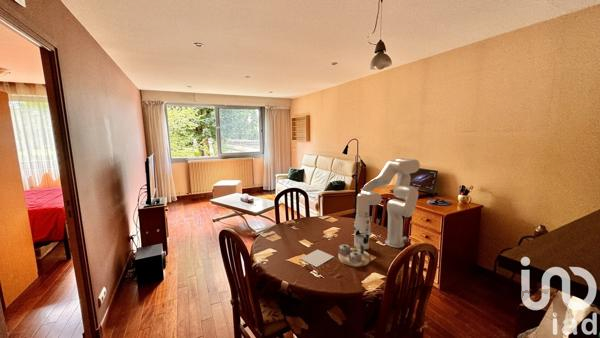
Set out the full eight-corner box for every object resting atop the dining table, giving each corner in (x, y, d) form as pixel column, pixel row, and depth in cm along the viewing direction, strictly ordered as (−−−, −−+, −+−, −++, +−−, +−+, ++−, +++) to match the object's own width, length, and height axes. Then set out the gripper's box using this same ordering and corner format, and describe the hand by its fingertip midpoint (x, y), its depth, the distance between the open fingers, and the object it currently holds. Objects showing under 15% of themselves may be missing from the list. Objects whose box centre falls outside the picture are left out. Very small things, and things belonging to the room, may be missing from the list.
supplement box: (359, 250, 157) (359, 232, 155) (353, 245, 164) (354, 228, 162) (369, 249, 159) (369, 231, 157) (363, 244, 166) (363, 227, 164)
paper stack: (346, 263, 143) (346, 262, 142) (319, 281, 125) (319, 280, 125) (317, 250, 159) (317, 249, 159) (289, 264, 142) (289, 263, 142)
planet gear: (362, 239, 153) (362, 233, 153) (369, 243, 147) (370, 237, 146) (353, 241, 150) (353, 235, 150) (360, 245, 144) (361, 239, 143)
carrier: (356, 248, 160) (356, 238, 159) (376, 261, 143) (376, 250, 142) (332, 254, 152) (332, 244, 151) (350, 269, 135) (350, 258, 134)
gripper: (377, 216, 140) (376, 245, 142) (358, 208, 155) (357, 234, 158) (367, 218, 137) (366, 247, 139) (349, 210, 152) (348, 236, 155)
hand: (361, 240), depth 148 cm, fingers closed on planet gear, 7 cm apart
